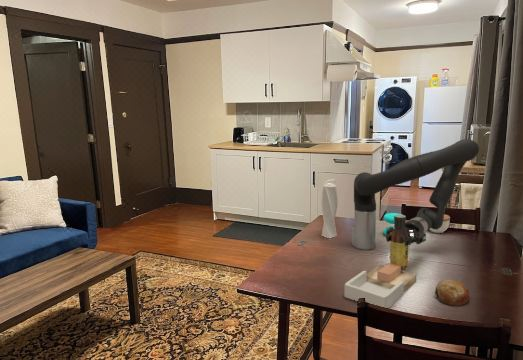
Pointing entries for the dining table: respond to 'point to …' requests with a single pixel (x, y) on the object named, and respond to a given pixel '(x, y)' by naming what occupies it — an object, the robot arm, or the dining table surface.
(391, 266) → the tan block
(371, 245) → the robot arm
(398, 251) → the sauce bottle
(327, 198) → the skyscraper
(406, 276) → the board
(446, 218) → the lidded jar
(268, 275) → the dining table surface
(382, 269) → the tile
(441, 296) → the bread roll
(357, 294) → the box
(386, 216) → the teal rounded shape
